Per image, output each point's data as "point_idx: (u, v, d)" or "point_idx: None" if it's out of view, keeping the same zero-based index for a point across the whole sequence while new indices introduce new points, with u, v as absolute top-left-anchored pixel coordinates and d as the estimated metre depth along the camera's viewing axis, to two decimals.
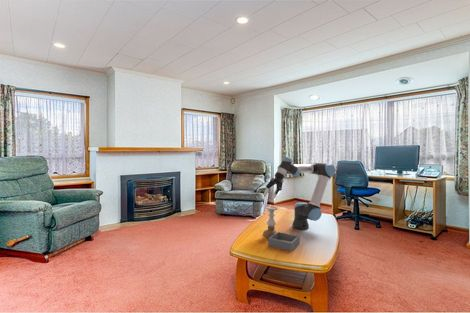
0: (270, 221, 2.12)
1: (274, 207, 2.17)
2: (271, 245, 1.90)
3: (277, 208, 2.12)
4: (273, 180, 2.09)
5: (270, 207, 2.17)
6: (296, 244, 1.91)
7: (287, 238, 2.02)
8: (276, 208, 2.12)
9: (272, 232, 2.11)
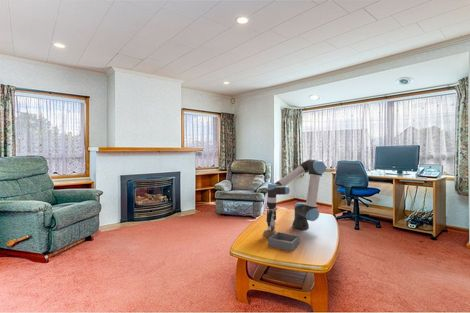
0: None
1: None
2: (271, 245, 1.90)
3: (277, 208, 2.12)
4: None
5: None
6: (296, 244, 1.91)
7: (287, 238, 2.02)
8: (276, 208, 2.12)
9: (272, 232, 2.11)
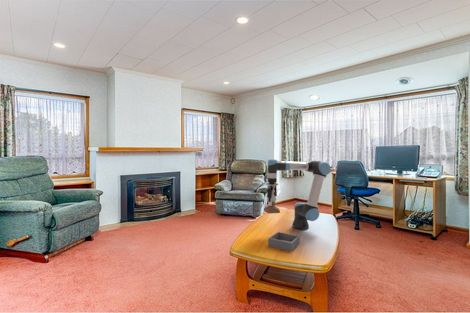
0: (271, 197, 2.11)
1: (275, 183, 2.16)
2: (271, 245, 1.90)
3: None
4: None
5: None
6: (296, 244, 1.91)
7: (287, 238, 2.02)
8: (277, 184, 2.11)
9: (273, 208, 2.10)
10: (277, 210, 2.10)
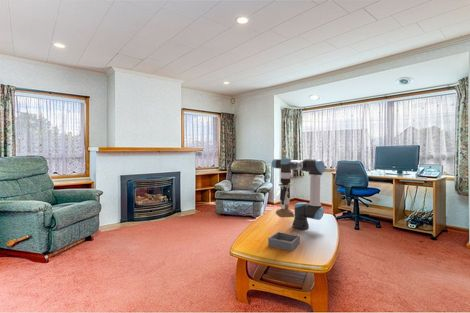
0: None
1: (288, 184, 1.96)
2: (271, 245, 1.90)
3: (291, 184, 1.92)
4: None
5: None
6: (296, 244, 1.91)
7: (287, 238, 2.02)
8: (290, 184, 1.91)
9: (286, 211, 1.90)
10: (291, 214, 1.90)
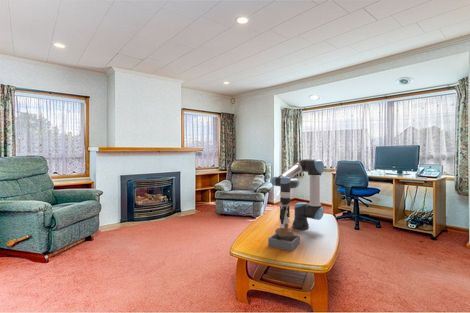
0: None
1: None
2: (271, 245, 1.90)
3: (291, 204, 1.92)
4: None
5: None
6: (296, 244, 1.91)
7: (287, 238, 2.02)
8: (290, 204, 1.92)
9: (286, 230, 1.90)
10: (290, 233, 1.90)
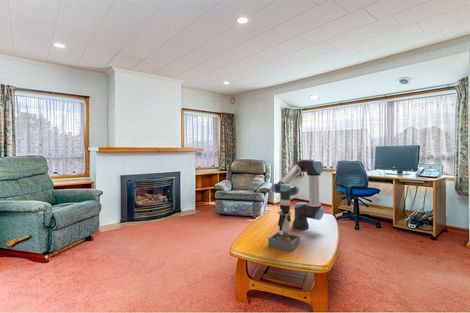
0: (283, 227, 1.92)
1: None
2: (271, 245, 1.90)
3: None
4: None
5: None
6: (296, 244, 1.91)
7: None
8: (290, 213, 1.92)
9: (285, 239, 1.91)
10: (290, 242, 1.90)
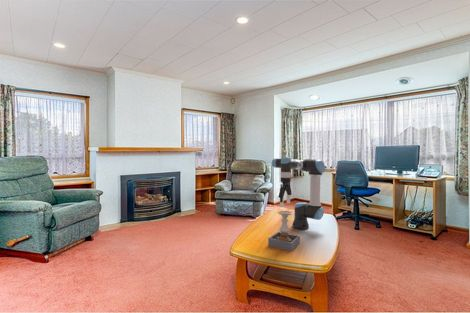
0: (283, 227, 1.92)
1: (287, 211, 1.97)
2: (271, 245, 1.90)
3: (291, 213, 1.92)
4: None
5: (283, 211, 1.97)
6: (296, 244, 1.91)
7: None
8: (290, 213, 1.92)
9: (285, 239, 1.91)
10: (290, 242, 1.90)
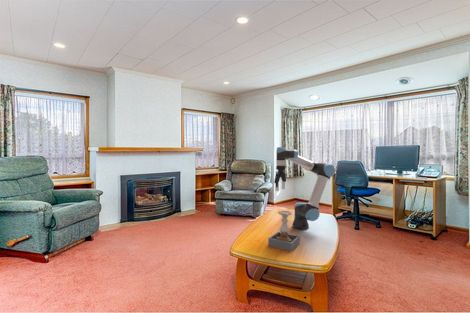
0: (283, 227, 1.92)
1: (287, 211, 1.97)
2: (271, 245, 1.90)
3: (291, 213, 1.92)
4: None
5: (283, 211, 1.97)
6: (296, 244, 1.91)
7: None
8: (290, 213, 1.92)
9: (285, 239, 1.91)
10: (290, 242, 1.90)
